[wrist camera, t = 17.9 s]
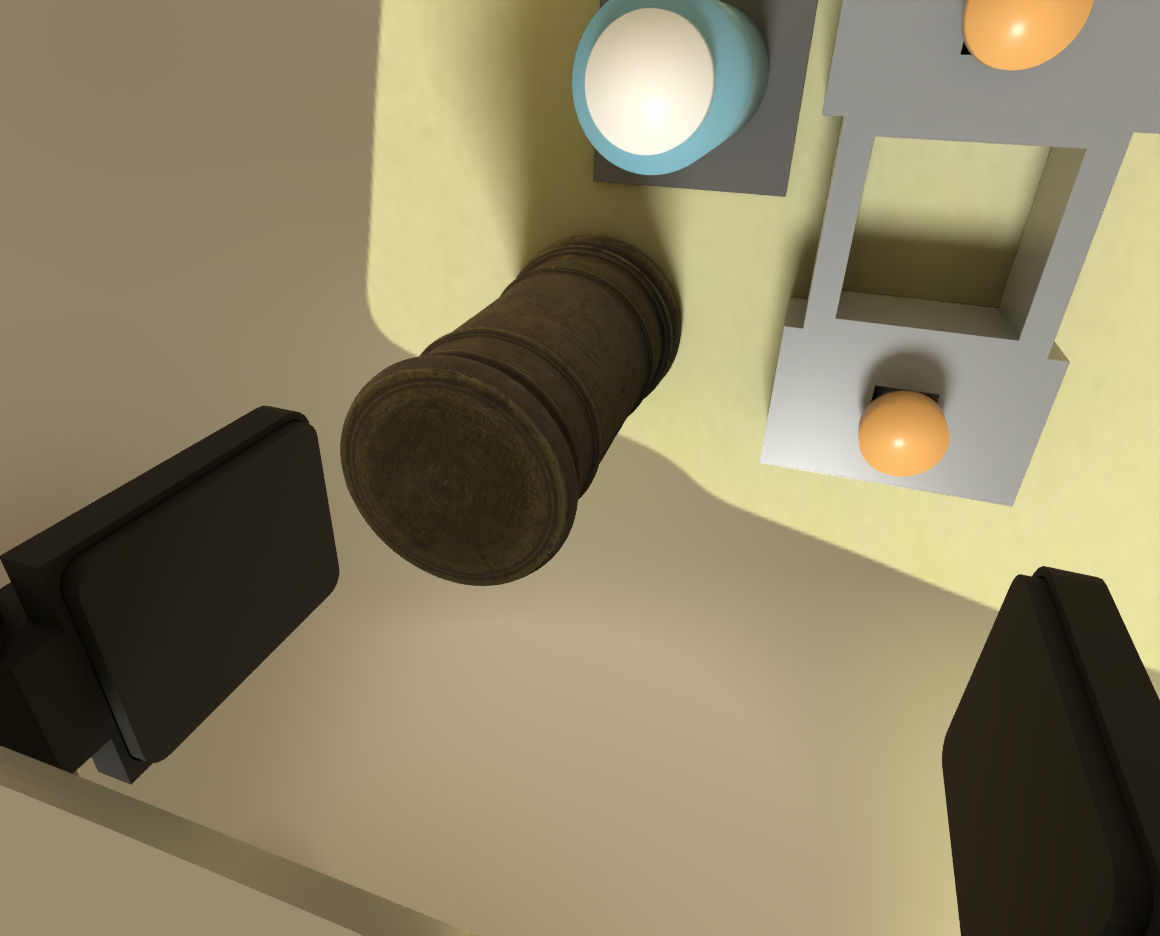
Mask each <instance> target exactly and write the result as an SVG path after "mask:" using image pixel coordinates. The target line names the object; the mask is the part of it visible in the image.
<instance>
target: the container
mask: <svg viewBox="0 0 1160 936" xmlns="http://www.w3.org/2000/svg"><path fill="white" fill-rule="evenodd" d="M680 337H681V319H680V312H679V308H678V304H677V300H676V297H675V295H674V292H673V290H672V288H671V286H670V284H669V282H668V281H667V279H666V277H665V276H664V274H663V273H662V272H661V271H660V269H659V268H658V267H657V266H656V265H655V264H654V263H653V262H652V261H651V260H650V259H649V258H648V257H647V256H645V255H644V254H643V253H641V252H640V251H638V250H637V249H635V248H634V247H632V246H630V245H628V244H625V243H623V242H620V241H617V240H614V239H611V238H607V237H600V236H578V237H571V238H567V239H564V240H561V241H558V242H556V243H553V244H551V245H549V246H548V247H546V248H544V249H543V250H542V251H540V252H539V253H538V254H537V255H536V256H535V257H534V258H533V259H532V260H531V261H530V262H529V263H528V264H527V265H526V266H525V267H524V268H523V269H522V270H521V272H520V273H519V275H518V276H517V278H516V279H515V280H514V281H513V282H512V283H511V284H509V285H508V286H507V288H506V289H505V290H504V291H503V293H502V294H501V296H500V297H499V298H498V299H497V300H495V301H494V302H493V303H491V304H490V305H489V306H487V307H486V308H485V309H483V310H482V311H480V312H479V313H478V314H476V315H475V316H474V317H472V318H471V319H469V320H468V321H466V322H465V323H464V324H463V325H461V326H460V327H458V328H457V329H456V330H454V331H453V332H451V333H449V334H447V335H445V336H443V337H441V338H439V339H437V340H436V341H434V342H433V343H432V344H430V345H429V346H428V347H427V348H426V349H425V350H424V351H423V352H422V353H421V355H420V356H419V357H415V358H410V359H406V360H403V361H400V362H397V363H395V364H393V365H391V366H390V367H387V368H386V369H384V370H382V371H381V372H380V373H378V374H377V375H376V376H375V377H373V378H372V379H371V380H370V381H369V382H368V383H367V384H366V385H365V386H364V387H363V388H362V389H361V391H360V392H359V393H358V395H357V396H356V398H355V400H354V401H353V403H352V405H351V407H350V409H349V411H348V413H347V416H346V419H345V422H344V425H343V430H342V435H341V444H340V445H341V446H340V454H341V463H342V469H343V474H344V478H345V481H346V485H347V488H348V490H349V493H350V495H351V497H352V499H353V501H354V503H355V504H356V506H357V508H358V510H359V512H360V513H361V515H362V516H363V518H364V519H365V521H366V522H367V523H368V525H369V526H370V527H371V529H372V530H373V531H374V532H375V533H376V534H377V535H378V537H379V538H381V540H382V541H383V542H385V544H386V545H388V546H389V547H390V548H391V549H392V550H393V551H394V552H396V553H397V554H398V555H400V556H401V557H402V558H404V559H405V560H406V561H408V562H410V563H411V564H413V565H415V566H416V567H418V568H420V569H422V570H423V571H426V572H428V573H430V574H432V575H434V576H437V577H439V578H442V579H445V580H448V581H452V582H456V583H460V584H465V585H474V586H490V585H499V584H504V583H509V582H512V581H515V580H518V579H520V578H523V577H525V576H527V575H529V574H531V573H533V572H534V571H536V570H538V569H539V568H541V567H542V566H543V565H545V564H546V563H547V562H548V561H549V560H550V559H552V558H553V557H554V555H555V554H556V553H557V552H558V551H559V550H560V548H561V547H562V545H563V544H564V542H565V541H566V539H567V537H568V535H569V533H570V530H571V528H572V526H573V523H574V519H575V515H576V510H577V503H578V499H580V498H581V497H582V495H583V494H584V493H585V492H586V491H587V489H588V488H589V486H590V484H591V483H592V481H593V479H594V477H595V474H596V472H597V469H598V466H599V464H600V462H601V461H602V459H603V457H604V455H605V454H606V452H607V450H608V449H609V447H610V445H611V444H612V442H613V440H614V438H615V436H616V435H617V433H618V432H619V430H620V429H621V427H622V425H623V423H624V422H625V420H626V418H627V417H628V416H629V415H630V414H632V413H633V412H634V411H635V409H636V408H637V407H638V406H639V405H640V403H641V402H642V400H643V399H644V398H646V397H647V396H648V395H649V394H650V393H651V392H652V391H653V390H654V389H655V388H656V386H657V385H658V384H659V382H660V381H661V380H662V379H663V378H664V376H665V375H666V374H667V372H668V371H669V369H670V368H671V366H672V364H673V362H674V360H675V357H676V355H677V351H678V348H679V343H680Z"/></svg>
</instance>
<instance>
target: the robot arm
mask: <svg viewBox="0 0 1160 936" xmlns="http://www.w3.org/2000/svg"><path fill="white" fill-rule="evenodd" d="M0 559H1V561H2V564H3V565H4V568H5V570H6V572H7V574H8V576H9V579H10V581H11V583H9V584H7V585H6V586H4V587H2V588H1V589H0V936H476V935H474V934H471V933H469V932H466V931H464V930H462V929H459V928H456V927H454V926H451V925H449V924H447V923H444V922H442V921H439V920H437V919H434V918H432V917H429V916H427V915H424V914H422V913H419V912H417V911H414V910H412V909H409V908H407V907H404V906H402V905H399V904H397V903H395V902H392V901H390V900H387V899H385V898H382V897H380V896H377V895H375V894H372V893H370V892H367V891H364V890H362V889H360V888H357V887H355V886H352V885H350V884H347V883H345V882H342V881H340V880H337V879H335V878H332V877H330V876H327V875H325V874H322V873H320V872H317V871H315V870H312V869H310V868H308V867H305V866H302V865H300V864H297V863H295V862H292V861H290V860H287V859H285V858H282V857H280V856H277V855H275V854H272V853H270V852H268V851H265V850H263V849H260V848H257V847H255V846H253V845H250V844H247V843H245V842H242V841H240V840H238V839H235V838H232V837H230V836H228V835H225V834H223V833H220V832H218V831H215V830H212V829H210V828H207V827H205V826H203V825H200V824H198V823H195V822H193V821H190V820H188V819H185V818H182V817H180V816H177V815H175V814H172V813H170V812H167V811H164V810H162V809H160V808H157V807H155V806H152V805H149V804H147V803H144V802H142V801H139V800H137V799H134V798H132V797H129V796H127V795H124V794H122V793H119V792H116V791H114V790H111V789H109V788H107V787H104V786H101V785H99V784H96V783H94V782H91V781H89V780H86V779H84V778H81V777H79V767H80V766H81V765H83V764H84V763H85V762H86V761H87V760H88V759H89V758H90V757H92V759H93V761H94V763H95V766H96V768H97V770H98V772H101V773H103V774H106V775H108V776H111V777H113V778H116V779H119V780H121V781H123V782H126V783H128V784H132V783H133V782H134V781H135V780H136V779H137V778H138V777H139V776H140V775H141V774H142V773H143V772H144V771H145V770H146V769H147V768H148V767H149V766H150V765H151V764H152V763H157V762H160V761H161V760H164V759H165V758H166V757H168V755H170V754H171V753H172V752H173V751H174V750H175V749H176V748H177V747H178V746H179V745H180V744H181V743H182V742H183V741H184V740H185V739H186V738H187V737H188V736H189V735H190V734H191V733H192V732H193V731H194V730H195V729H196V728H197V727H198V726H199V725H200V724H201V723H202V722H203V721H204V720H205V719H206V718H207V717H208V716H209V715H210V714H211V713H212V712H213V711H214V710H215V709H216V708H217V707H218V706H219V705H220V704H221V703H222V702H223V701H224V700H225V699H226V698H227V697H228V696H229V695H230V694H231V693H232V692H233V691H234V690H235V689H236V688H237V687H238V686H239V685H240V684H241V683H242V682H243V681H244V680H245V679H246V678H247V677H248V676H249V675H250V674H251V673H252V672H253V671H254V670H255V669H256V668H257V667H258V666H259V665H260V664H261V663H262V662H263V661H264V660H265V659H266V658H267V657H268V656H269V655H270V654H271V653H272V652H273V651H274V650H275V649H276V648H277V647H278V646H279V645H280V644H281V643H282V642H283V641H284V640H285V639H286V638H287V637H288V636H289V635H290V634H291V633H292V632H293V631H294V630H295V629H296V628H297V627H298V626H299V625H300V624H301V623H302V622H303V621H304V620H305V619H306V618H307V617H308V616H309V615H310V614H311V613H312V612H313V611H314V610H315V609H316V608H317V607H318V606H319V605H320V604H321V603H322V602H323V601H324V600H325V599H326V598H327V597H328V596H329V595H330V594H331V592H332V591H333V590H334V588H335V586H336V584H337V581H338V578H339V564H338V558H337V552H336V546H335V540H334V534H333V528H332V522H331V516H330V510H329V504H328V498H327V492H326V485H325V479H324V473H323V467H322V461H321V455H320V449H319V443H318V437H317V433H316V430H315V429H314V427H313V426H311V425H310V424H309V421H308V420H307V418H306V417H305V415H303V414H301V413H300V412H295V411H290V410H285V409H281V408H276V407H271V406H261V407H259V408H256V409H255V410H253V411H251V412H250V413H248V414H246V415H244V416H242V417H241V418H239V419H237V420H235V421H234V422H232V423H230V424H228V425H227V426H225V427H224V428H221V429H220V430H218V431H216V432H215V433H213V434H211V435H209V436H208V437H206V438H204V439H202V440H201V441H199V442H197V443H195V444H194V445H192V446H190V447H189V448H187V449H185V450H183V451H182V452H180V453H178V454H176V455H175V456H173V457H171V458H170V459H168V460H166V461H164V462H163V463H161V464H159V465H157V466H155V467H154V468H152V469H150V470H149V471H147V472H145V473H143V474H142V475H140V476H138V477H136V478H135V479H133V480H131V481H129V482H128V483H126V484H124V485H122V486H121V487H119V488H117V489H115V490H114V491H112V492H110V493H108V494H107V495H105V496H103V497H102V498H100V499H98V500H96V501H95V502H93V503H91V504H89V505H88V506H86V507H84V508H82V509H81V510H79V511H78V512H75V513H74V514H72V515H70V516H68V517H67V518H65V519H63V520H61V521H60V522H58V523H56V524H55V525H53V526H51V527H49V528H48V529H46V530H44V531H43V532H41V533H39V534H37V535H36V536H34V537H32V538H30V539H28V540H27V541H25V542H23V543H22V544H20V545H18V546H16V547H14V548H13V549H11V550H9V551H8V552H6V553H4V554H2V555H1V556H0ZM942 768H943V777H944V785H945V795H946V804H947V813H948V822H949V831H950V839H951V848H952V857H953V867H954V876H955V885H956V894H957V903H958V912H959V921H960V930H961V936H1160V700H1159V698H1158V696H1157V693H1156V691H1155V689H1154V687H1153V685H1152V683H1151V680H1150V678H1149V676H1148V674H1147V672H1146V670H1145V667H1144V665H1143V663H1142V661H1141V659H1140V657H1139V654H1138V652H1137V650H1136V648H1135V646H1134V644H1133V641H1132V639H1131V637H1130V635H1129V633H1128V631H1127V628H1126V626H1125V624H1124V622H1123V620H1122V618H1121V615H1120V613H1119V611H1118V609H1117V607H1116V605H1115V602H1114V600H1113V598H1112V596H1111V594H1110V592H1109V589H1108V587H1107V585H1106V584H1105V582H1104V581H1103V579H1100V578H1098V577H1094V576H1089V575H1084V574H1079V573H1075V572H1070V571H1065V570H1060V569H1055V568H1050V567H1045V566H1042V567H1040V568H1038V569H1037V570H1036V571H1035V572H1034V574H1033V576H1032V577H1031V576H1026V575H1022V574H1020V575H1017V576H1016V577H1015V578H1014V580H1013V582H1012V584H1011V586H1010V588H1009V590H1008V592H1007V595H1006V597H1005V599H1004V602H1003V604H1002V606H1001V609H1000V611H999V613H998V616H997V618H996V620H995V622H994V625H993V627H992V629H991V632H990V634H989V636H988V639H987V641H986V643H985V645H984V648H983V650H982V652H981V655H980V657H979V659H978V662H977V664H976V666H975V668H974V671H973V673H972V676H971V678H970V680H969V683H968V685H967V687H966V689H965V692H964V694H963V696H962V698H961V701H960V703H959V705H958V708H957V710H956V712H955V715H954V717H953V719H952V721H951V724H950V726H949V728H948V731H947V733H946V736H945V740H944V745H943V751H942Z"/></svg>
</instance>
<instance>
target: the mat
mask: <svg viewBox="0 0 1160 936" xmlns="http://www.w3.org/2000/svg"><path fill="white" fill-rule="evenodd" d="M608 1H609V0H600V8H601V7H602V6H603V5H604V4H605V3H606V2H608ZM719 1H722V2H724V3H727V4H729V5H731V6H734V7H736V8H738V9H739V10H741V11H743V12H744V13H745V14H746V15H748V16H749V17H750V18H751V19H752V20H753V22H754V23H755V24H756V25H757V27H758V28H759V30H760V32H761V33H762V36H763V38H764V40H765V43H766V47H767V50H768V56H769V79H768V84H767V89H766V92H765V95H764V98H763V100H762V102H761V105H760V107H759V108H758V110H757V112H756V113H755V115H754V116H753V117H752V119H751V120H750V121H749V122H748V123H747V124H746V125H745V126H744V127H743V128H742V129H741V130H739V131H738V132H737V133H736V134H734V135H733V136H731V137H730V138H728V139H727V140H725V141H724V142H723V143H721V144H720V145H718V146H717V147H715V148H714V149H712V150H711V151H710V152H708V153H707V154H705V155H704V156H702V157H701V158H699V159H698V160H697V161H695V162H693V163H692V164H690V165H688V166H687V167H684V168H682V169H680V170H678V171H674V172H671V173H667V174H660V175H643V174H637V173H633V172H630V171H626V170H624V169H622V168H620V167H618V166H616V165H614V164H613V163H611V162H610V161H608V160H607V159H606V158H605V157H603V156H602V155H601V154H600V153H599V152H598V151H597V150H596V149H595V154H594V181H601V182H613V183H626V184H638V185H650V186H662V187H674V188H686V189H698V190H711V191H723V192H735V193H747V194H759V195H771V196H783V197H785V196H786V191H787V185H788V178H789V172H790V166H791V160H792V154H793V148H794V142H795V136H796V130H797V124H798V118H799V112H800V106H801V100H802V94H803V88H804V82H805V76H806V69H807V63H808V57H809V51H810V45H811V39H812V33H813V27H814V21H815V15H816V9H817V3H818V0H719Z"/></svg>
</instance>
